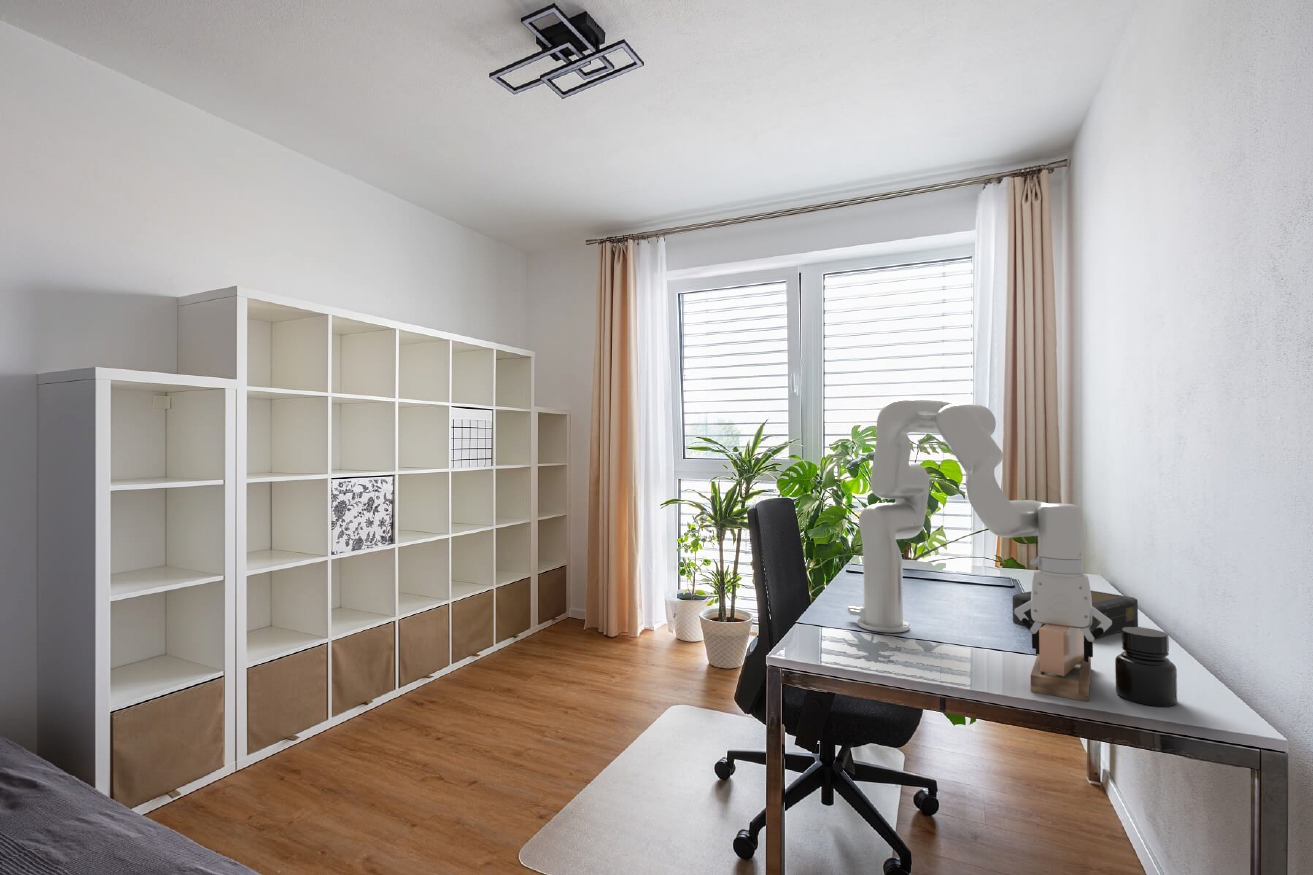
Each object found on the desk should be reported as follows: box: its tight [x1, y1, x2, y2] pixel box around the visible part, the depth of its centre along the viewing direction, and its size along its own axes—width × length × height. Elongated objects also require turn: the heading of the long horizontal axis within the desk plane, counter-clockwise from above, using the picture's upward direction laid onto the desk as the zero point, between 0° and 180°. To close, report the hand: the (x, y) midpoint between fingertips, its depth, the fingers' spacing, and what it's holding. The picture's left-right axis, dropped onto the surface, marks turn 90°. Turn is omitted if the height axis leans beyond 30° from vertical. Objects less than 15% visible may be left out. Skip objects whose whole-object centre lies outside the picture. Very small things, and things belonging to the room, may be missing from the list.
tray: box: [1030, 654, 1092, 703], centre depth 127 cm, size 9×22×3 cm, turn 145°
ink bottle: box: [1114, 627, 1178, 707], centre depth 118 cm, size 10×9×12 cm
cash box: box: [1012, 590, 1139, 639], centre depth 170 cm, size 25×20×8 cm
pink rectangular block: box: [1039, 624, 1084, 676], centre depth 128 cm, size 4×16×8 cm, turn 136°
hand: (1062, 655), depth 128 cm, fingers open, 7 cm apart
